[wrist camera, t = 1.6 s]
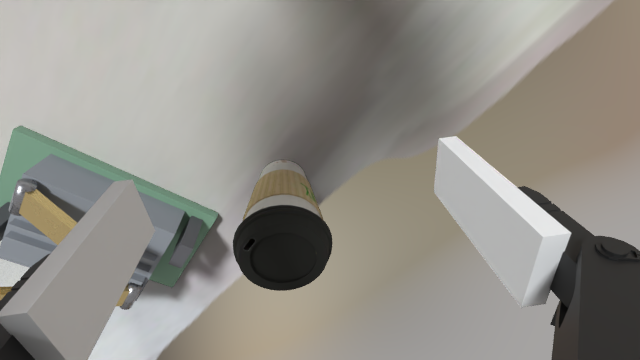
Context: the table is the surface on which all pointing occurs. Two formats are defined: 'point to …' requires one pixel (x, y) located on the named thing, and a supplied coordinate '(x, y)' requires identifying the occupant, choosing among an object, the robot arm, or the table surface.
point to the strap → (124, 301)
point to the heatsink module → (81, 194)
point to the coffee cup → (282, 231)
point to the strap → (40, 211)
